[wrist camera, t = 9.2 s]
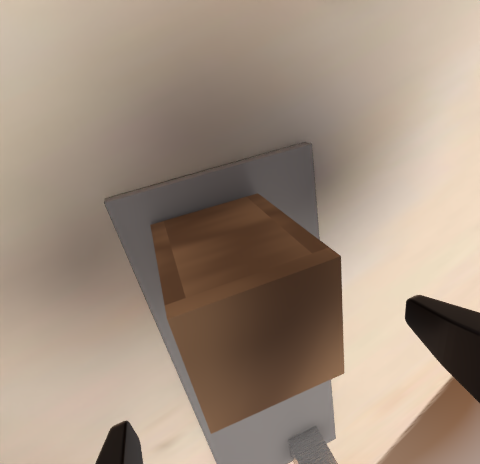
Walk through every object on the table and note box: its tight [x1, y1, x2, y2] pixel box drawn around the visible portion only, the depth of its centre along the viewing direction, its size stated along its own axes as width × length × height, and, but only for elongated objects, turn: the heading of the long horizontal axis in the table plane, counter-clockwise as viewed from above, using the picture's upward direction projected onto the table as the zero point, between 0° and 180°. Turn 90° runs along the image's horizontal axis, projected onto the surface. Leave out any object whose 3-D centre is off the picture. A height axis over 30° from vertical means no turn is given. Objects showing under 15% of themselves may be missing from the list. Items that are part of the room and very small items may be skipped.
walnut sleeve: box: [150, 193, 344, 434], centre depth 13 cm, size 5×5×7 cm
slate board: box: [104, 142, 336, 464], centre depth 20 cm, size 10×26×1 cm, turn 11°
